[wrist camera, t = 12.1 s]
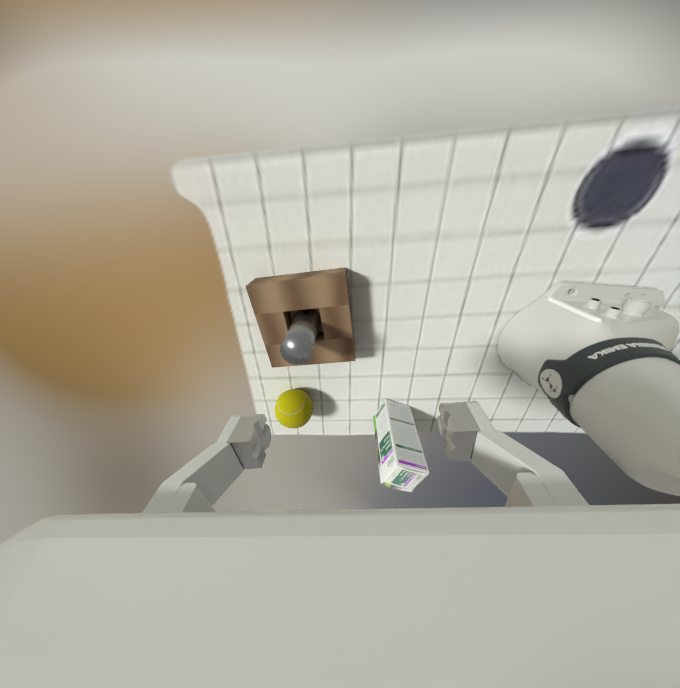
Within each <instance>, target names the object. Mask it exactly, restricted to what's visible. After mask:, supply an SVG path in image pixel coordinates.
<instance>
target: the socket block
mask: <svg viewBox="0 0 680 688" xmlns="http://www.w3.org/2000/svg"><path fill="white" fill-rule="evenodd" d="M246 289H247V292H248V295H249V298H250V301H251V304H252V307H253V310H254V313H255V316H256V319H257V322H258V326H259V329H260V332H261V335H262V338H263V341H264V344H265V347H266V350H267V353H268V356H269V359H270V362H271V365H272V367H284V366H297V365H293V364H290V363H288V362H287V361H285V360H284V359H283V358H282V356H281V354H280V346H281V344H282V342H283V340H284V338H285V336H286V334H287V332H288V330H289V328H290V327H291V325H292V323H293V321H294V319H295V317H296V315H297V313H298V311H299V310H304V309H315V310H316V311H317V312H318V313H319V315H320V317H321V322H320V326H319V329H318V333H317V336H316V340H315V343H314V347H313V350H312V354H311V357H310V359H309V360H308V361H307V362H306V363H304V364H301V365H309V364H322V363H334V362H347V361H355V342H354V334H353V325H352V316H351V308H350V299H349V290H348V281H347V273H346V268H338V269H330V270H321V271H313V272H305V273H296V274H288V275H279V276H271V277H263V278H255V279H254V280H253V281H252V282H250V283H249V284H248V285H247V286H246Z"/></svg>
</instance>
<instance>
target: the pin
mask: <svg viewBox="0 0 680 688" xmlns="http://www.w3.org/2000/svg"><path fill="white" fill-rule="evenodd" d="M320 322H321V317H320V315H319V313H318V312H317V311H316V310H315V309H304V310H299V311H298V313H297V315H296V317H295V319H294V321H293V323H292V325H291V327H290V328H289V330H288V332H287V334H286V336H285V338H284V340H283V342H282V344H281V346H280V354H281V356H282V358H283V359H284V360H285V361H287V362H288V363H290V364H293V365H301V364H304V363H306V362H307V361H308V360H309V359H310V357H311V354H312V350H313V347H314V343H315V340H316V336H317V333H318V329H319V326H320Z"/></svg>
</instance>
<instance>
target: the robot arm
mask: <svg viewBox="0 0 680 688" xmlns="http://www.w3.org/2000/svg"><path fill="white" fill-rule="evenodd" d="M570 289H571V290H570ZM569 290H570V291H569ZM568 291H569V292H568ZM664 301H665V300H664V294H663V292H662V291H660V290H658V289H655V288H648V287H635V286H622V285H609V284H597V283H584V282H571V281H560V282H558V283H556V284H555V285H553V286H552V287H551V288H550V289H549V290H548V291H547V292H546V293H545V294H544V295H543V296H542V297H541V298H540V299H539V300H537V301H536V302H534V303H532V304H531V305H529V306H527V307H526V308H524V309H523V310H521V311H520V312H519V313H517V314H516V315H515V316H514V317H513V318H512V319H511V320H510V321H509V322H508V324H507V325H506V326H505V328H504V329H503V331H502V333H501V335H500V338H499V341H498V355H499V358H500V360H501V361H502V363H503V364H504V365H505V366H506V367H508V368H509V369H511V370H513V371H514V372H516V373H517V374H519V375H520V376H521V378H522V379H523V381H525V382H526V383H527V384H528V385H533V386H534V387H535V388H536V389H538V390H539V391H540V392H541V393H542V394H544V395H545V396H546V397H547V398H548V399H549V400H550V402H551V403H552V404H553V405H554V406H555V407H556V408H557V409H558V410H559V411H560V412H561V413H562V415H563V416H564V417H565V418H566V419H568V420H569V421H570V422H571V423H572V424H574V425H576V426H578V427H580V428H582V429H583V430H584V431H585V432H586V433H587V434H588V435H589V436H590V437H591V438H592V439H593V440H594V441H595V442H596V443H597V445H598V446H599V447H600V448H602V450H603V451H604V452H605V453H606V454H607V455H608V456H609V457H610V458H611V459H612V460H613V461H614V462H615V463H616V464H617V465H618V466H619V467H620V468H621V469H622V470H623V471H624V472H625V473H626V474H627V475H628V476H630V477H631V478H633V479H634V480H635V481H637V482H639V483H640V484H642V485H644V486H646V487H648V488H651V489H654V490H657V491H660V492H664V493H668V494H672V495H677V496H680V360H679V359H678V358H677V357H676V356H675V355H674V354H673V353H672V352H671V351H672V348H673V346H674V344H675V342H676V339H677V337H678V332H679V325H678V322H677V320H676V319H675V318H674V317H673V316H671V315H669V314H667V313H665V312H663V309H664ZM439 411H440V414H441V415H440V416H439V417H438V429H439V433H440V436H441V438H442V439H443V440H444V441H445V449H446V452H447V455H448V458H449V460H450V461H471V463H473V464H474V465H475V466H476V467H477V468H478V469H479V470H480V471H481V472H482V473H483V474H484V475H485V476H486V477H487V478H488V479H489V480H490V481H491V482H493V483H494V484H495V485H496V486H497V487H498V488H499V489H500V490H501V491H502V492H503V493H504V494H505V495H506V496H507V497H508V500H507V502H506V505H505V507H473V508H422V509H421V508H419V509H418V508H415V509H360V510H302V511H244V512H216V511H215V510H214V508H213V507H212V505H213V504H214V503H215V502H216V501H217V500H218V499H219V497H220V496H221V495H222V494H223V493H224V492H225V491H226V490H227V488H228V487H229V486H230V485H231V484H232V483H233V482H234V481H235V480H236V478H237V477H238V476H239V475H240V474H241V473H242V472H243V471H244V469H252V468H262V465H263V462H264V459H265V456H266V453H265V451H264V450H265V449H267V448H268V447H269V444H270V441H271V430H270V427H269V426H268V425H267V424H265V423H266V420H267V419H266V417H265V415H263V414H254V415H233V416H232V417H231V418H230V419H229V421H228V423H227V424H226V426H225V428H224V430H223V432H222V433H221V435H220V437H219V439H218V440H217V442H216V444H212V445H211V446H209V447H208V448H207V449H205V450H204V451H203V452H202V453H201V454H199V455H198V456H196V457H195V458H194V459H192V460H191V461H190V462H189V463H187V464H186V465H185V466H183V467H182V468H181V469H179V470H178V471H177V472H176V473H175V474H173V475H172V476H171V477H169V478H168V479H167V480H165V481H164V482H163V483H162V484H161V486H160V487H159V489H158V490H157V492H156V493H155V495H154V496H153V498H152V499H151V500H150V502H149V503H148V505H147V507H146V508H145V509H144V511H143V512H142V513H126V514H125V513H124V514H58V515H51V516H48V517H45V518H42V519H41V520H39V521H37V522H36V523H34V524H32V525H30V526H28V527H27V528H25V529H23V530H21V531H20V532H18V533H17V534H15V535H14V536H12V537H10V538H9V539H7V540H5V541H4V542H2V543H1V544H0V688H680V504H645V505H594V506H593V505H589V504H588V503H587V502H586V501H585V499H584V498H583V497H582V495H581V494H580V493H579V491H578V490H577V489H576V488H575V486H574V485H573V484H572V482H571V481H570V480H569V478H568V477H567V476H566V474H565V473H564V472H563V471H562V470H561V469H559V468H558V467H556V466H554V465H553V464H551V463H550V462H548V461H547V460H545V459H543V458H542V457H540V456H538V455H537V454H536V453H534V452H532V451H531V450H529V449H528V448H526V447H524V446H523V445H521V444H520V443H518V442H517V441H515V440H513V439H512V438H510V437H509V436H507V435H506V434H504V433H502V432H501V431H499V430H495V429H494V427H493V426H492V424H491V423H490V421H489V419H488V418H487V416H486V414H485V413H484V411H483V410H482V408H481V406H480V405H479V403H478V402H477V401H469V402H455V403H440V405H439Z"/></svg>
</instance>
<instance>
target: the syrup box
mask: <svg viewBox="0 0 680 688" xmlns="http://www.w3.org/2000/svg"><path fill="white" fill-rule="evenodd" d="M373 419H374V427H375V436H376V445H377V454H378V462H379V471H380V481H381V484H383V485H384V486H387V487H391V488H394V489H397V490H402V491H409V492H412V490H413V489H414V488H415V487H416V486H417V485H418V484H419V483H420V482H421V481H422V480H423V479H424V478H425V477H426V476H427V475H428V474H429V470H428V467H427V464H426V460H425V456H424V453H423V449H422V446H421V443H420V439H419V436H418V432H417V429H416V426H415V422H414V419H413V415H412V412H411V408H410V407H409V406H407V405H404V404H401V403H398V402H395V401H391V400H388V399H385V400H384V402H383V403H382V404H381V406H380V407H379V409H378V410H377V412H376V414H375V415H374V417H373Z"/></svg>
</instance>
